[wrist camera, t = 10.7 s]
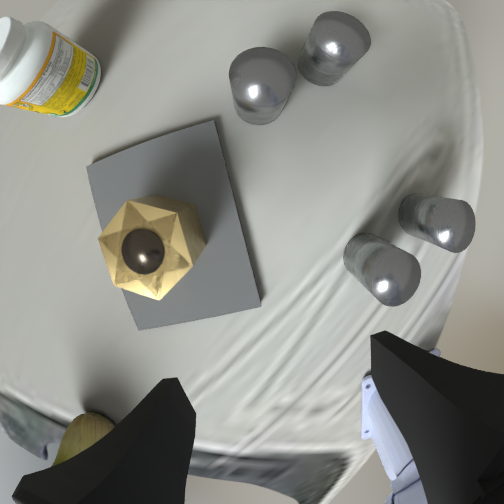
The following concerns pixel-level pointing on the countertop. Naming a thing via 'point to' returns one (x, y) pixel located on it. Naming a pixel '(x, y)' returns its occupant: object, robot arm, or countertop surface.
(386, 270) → the cylinder
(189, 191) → the mat
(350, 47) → the cylinder
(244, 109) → the cylinder
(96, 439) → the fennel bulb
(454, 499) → the robot arm
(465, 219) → the cylinder
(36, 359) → the countertop surface
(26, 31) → the supplement bottle
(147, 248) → the nut
